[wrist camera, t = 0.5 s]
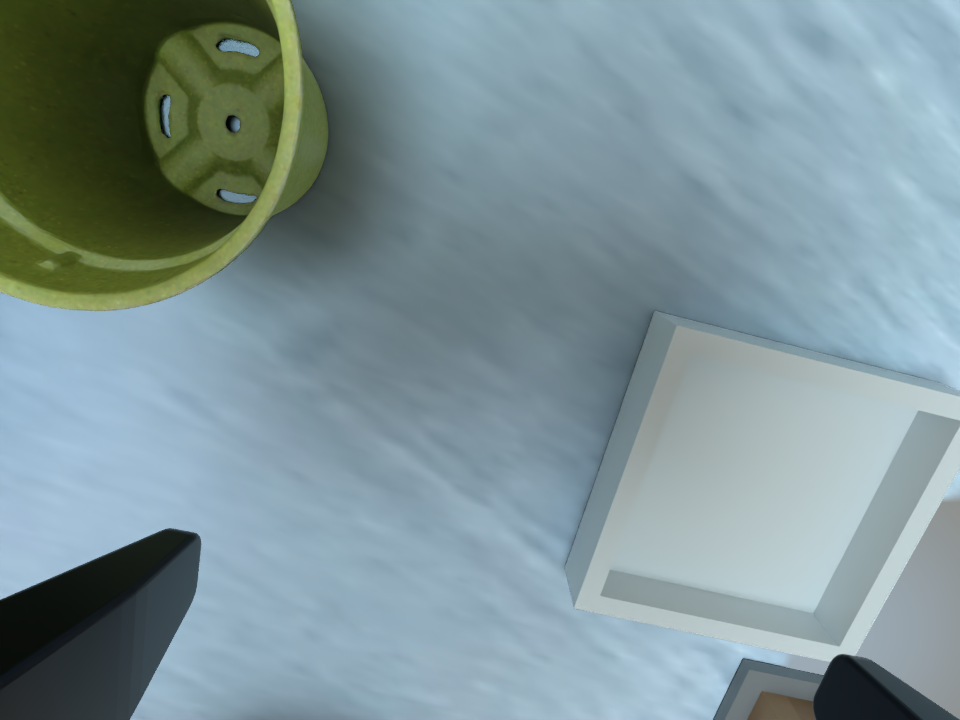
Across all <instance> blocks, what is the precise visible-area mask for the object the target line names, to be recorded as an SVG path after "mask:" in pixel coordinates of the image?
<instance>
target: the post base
mask: <svg viewBox="0 0 960 720" xmlns="http://www.w3.org/2000/svg"><path fill="white" fill-rule="evenodd" d="M823 676H824V675H819V674H814V673H810V672H805V671H800V670H795V669H790V668H785V667H781V666H776V665H771V664H766V663H761V662H756V661H752V660H747V659H743V660H742V662H741V664H740V666H739V668H738V671H737V673H736V675H735V677H734V679H733V681H732V683H731V685H730V687H729V689H728V691H727V693H726V695H725V697H724V699H723V701H722V703H721V705H720V707H719V710H718V712H717V714H716V716H715V718H714V720H747V719H748V717H749V715H750V713H751V711H752V709H753V707H754V705H755V703H756V701H757V699H758V697H759V695H760V693H761V691H764V692H769V693H774V694H779V695H784V696H789V697H794V698H799V699H804V700H809V701H813V698H814V695H815V693H816V691H817V688H818V686H819V684H820V682H821V680H822V678H823Z"/></svg>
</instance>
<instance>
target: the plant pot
mask: <svg viewBox="0 0 960 720" xmlns="http://www.w3.org/2000/svg"><path fill="white" fill-rule="evenodd" d="M223 39H235V40H240V41H246V42H248V43H251V44H253V45H254V46H256V47H257V48H258V50H259V52H260V53H259V55H258V56H256V57H254V56H250V55H247V54H244V53H239V52H234V51H227V52H222V51H219V50H218V49H217V48H216V44H217V43H218V42H219V41H221V40H223ZM163 95H169V96H170V98H171V100H170V102H171V105H170V111H169V115H168V118H169V127H170V135H171V137H169V138H167V137H166V135H164V134H163V133H162V131H161V126H160V115H159V106H160V99H161V98H162V97H163ZM230 115H234V116H236V117H237V118H238V119H239V120H240V129H239V130H238V131H237V132H236V133H235V132H230V131H229V130H228V129H227V127H226V120H227V118H228V116H230ZM327 146H328V119H327V112H326V107H325V103H324V99H323V96H322V93H321V91H320V88H319V85H318V83H317V81H316V79H315V77H314V76H313V74H312V72H311V70H310V69H309V67H308V65H307V64H306V62H305V61H304V59H303V57H302V48H301V41H300V34H299V30H298V26H297V21H296V17H295V13H294V8H293V4H292V1H291V0H0V292H2V293H4V294H7V295H10V296H13V297H16V298H19V299H22V300H25V301H29V302H32V303H36V304H40V305H45V306H49V307H54V308H61V309H69V310H90V311H109V310H121V309H129V308H134V307H139V306H143V305H148V304H152V303H155V302H159V301H162V300H165V299H167V298H170V297H173V296H175V295H178V294H180V293H183V292H185V291H187V290H189V289H191V288H193V287H195V286H197V285H199V284H201V283H202V282H204V281H206V280H207V279H209V278H210V277H212V276H213V275H215V274H216V273H218V272H220V271H221V270H222V269H224V268H225V267H226V266H227V265H229V264H230V263H231V262H232V261H233V260H235V259H236V258H237V257H238V256H239V255H240V254H241V253H242V252H243V251H244V250H246V248H247V247H248V246H249V245H250V244H251V243H252V241H253V240H254V239H255V238H256V237H257V236H258V234H259V233H260V232H261V230H262V229H263V228H264V226H265V225H266V223H267V222H268V221H269V219H270V218H271V216H273V215H275V214H277V213H279V212H281V211H283V210H285V209H287V208H288V207H290V206H291V205H293V204H294V203H295V202H297V201H298V200H299V199H300V198H301V197H302V196H303V195H304V194H305V193H306V192H307V191H308V190H309V189H310V187H311V186H312V185H313V183H314V182H315V180H316V178H317V176H318V175H319V173H320V171H321V168H322V165H323V162H324V159H325V156H326V152H327ZM219 189H224V190H226V191H230V192H234V193H240V194H248V195H255V196H256V197H257V199H255V200H254V201H253V202H250V203H241V204H238V203H231V202H227V201H224V200H222V199H221V198H220V197H218V196H217V190H219Z"/></svg>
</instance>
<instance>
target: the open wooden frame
mask: <svg viewBox="0 0 960 720" xmlns="http://www.w3.org/2000/svg"><path fill="white" fill-rule="evenodd" d="M747 720H816V719H815V716H814V711H813V701H809V700H804V699H799V698H794V697H789V696H784V695H779V694H774V693H769V692H764V691H761V693H760V695H759V697H758V699H757V701H756V703H755V705H754V707H753V709H752V711H751V713H750V715H749V717H748V719H747Z"/></svg>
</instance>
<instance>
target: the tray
mask: <svg viewBox="0 0 960 720" xmlns="http://www.w3.org/2000/svg"><path fill="white" fill-rule="evenodd" d="M959 469H960V391H958V390H956V389H953V388H951V387H948V386H946V385H943V384H941V383H938V382H934V381H930V380H926V379H922V378H918V377H914V376H911V375H907V374H903V373H899V372H895V371H891V370H887V369H883V368H879V367H875V366H871V365H867V364H863V363H859V362H855V361H851V360H847V359H843V358H839V357H835V356H832V355H828V354H824V353H820V352H816V351H812V350H808V349H804V348H800V347H796V346H792V345H788V344H784V343H780V342H776V341H772V340H768V339H764V338H760V337H756V336H753V335H749V334H745V333H741V332H737V331H733V330H729V329H725V328H721V327H717V326H713V325H709V324H705V323H701V322H697V321H693V320H689V319H685V318H681V317H677V316H673V315H670V314H666V313H662V312H658V311H654V314H653V317H652V319H651V322H650V325H649V328H648V331H647V334H646V337H645V340H644V342H643V345H642V348H641V351H640V354H639V357H638V360H637V362H636V365H635V368H634V371H633V374H632V377H631V380H630V382H629V385H628V388H627V391H626V394H625V397H624V400H623V403H622V405H621V408H620V411H619V414H618V417H617V420H616V423H615V425H614V428H613V431H612V434H611V437H610V440H609V443H608V445H607V448H606V451H605V454H604V457H603V460H602V463H601V466H600V468H599V471H598V474H597V477H596V480H595V483H594V486H593V488H592V491H591V494H590V497H589V500H588V503H587V506H586V508H585V511H584V514H583V517H582V520H581V523H580V526H579V529H578V531H577V534H576V537H575V540H574V543H573V546H572V549H571V551H570V554H569V557H568V560H567V563H566V566H565V572H566V576H567V580H568V585H569V589H570V593H571V598H572V602H573V606H574V609H579V610H584V611H589V612H593V613H598V614H603V615H608V616H613V617H617V618H622V619H627V620H632V621H636V622H641V623H646V624H651V625H656V626H660V627H665V628H670V629H675V630H679V631H684V632H689V633H694V634H699V635H703V636H708V637H713V638H718V639H722V640H727V641H732V642H737V643H742V644H746V645H751V646H756V647H761V648H766V649H770V650H775V651H780V652H785V653H789V654H794V655H799V656H804V657H809V658H814V659H818V660H823V661H828V662H831V661H832V659H833V658H834V657H835V656H837V655H839V654H847V655H853V656H855V655H856V653H857V652H858V650H859V648H860V646H861V644H862V643H863V641H864V638H865V637H866V635H867V634H868V632H869V630H870V628H871V626H872V625H873V623H874V621H875V619H876V618H877V616H878V614H879V612H880V610H881V609H882V607H883V605H884V603H885V601H886V600H887V598H888V596H889V594H890V592H891V591H892V589H893V587H894V585H895V583H896V582H897V580H898V578H899V576H900V575H901V573H902V571H903V569H904V567H905V566H906V564H907V562H908V560H909V558H910V557H911V555H912V553H913V551H914V550H915V548H916V546H917V544H918V542H919V541H920V539H921V537H922V535H923V534H924V532H925V530H926V528H927V526H928V525H929V523H930V521H931V519H932V517H933V516H934V514H935V512H936V510H937V508H938V507H939V505H940V503H941V501H942V500H943V498H944V496H945V494H946V492H947V491H948V489H949V487H950V485H951V483H952V482H953V480H954V478H955V476H956V475H957V473H958V471H959Z"/></svg>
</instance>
